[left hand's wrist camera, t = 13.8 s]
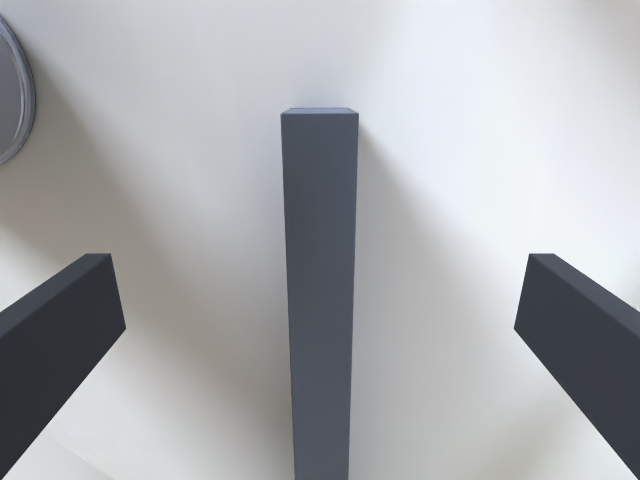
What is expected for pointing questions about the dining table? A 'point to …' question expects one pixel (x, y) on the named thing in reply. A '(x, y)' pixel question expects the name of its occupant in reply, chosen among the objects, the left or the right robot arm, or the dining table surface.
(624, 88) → the dining table surface
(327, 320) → the beam
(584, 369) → the left robot arm
